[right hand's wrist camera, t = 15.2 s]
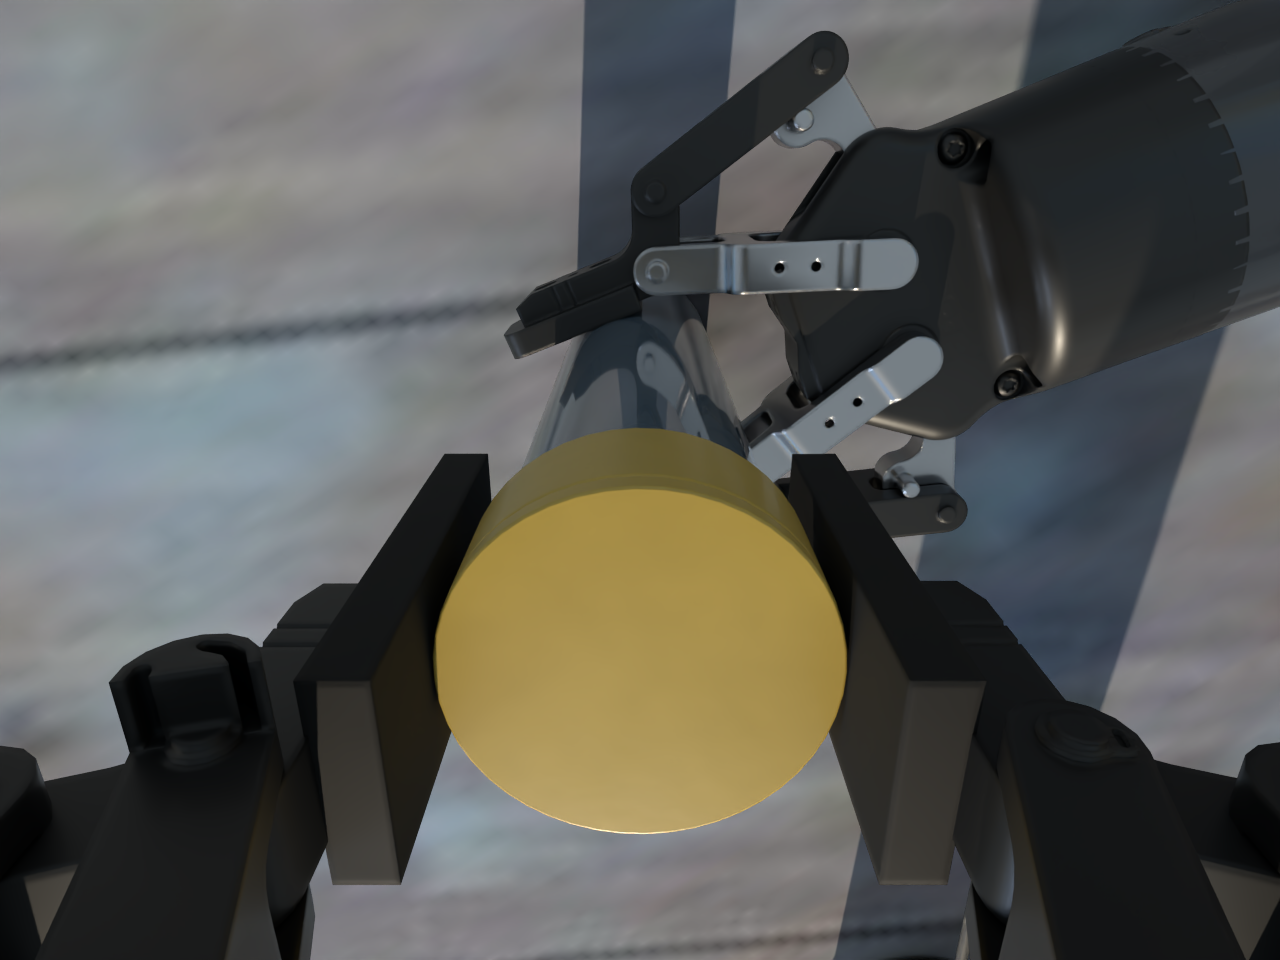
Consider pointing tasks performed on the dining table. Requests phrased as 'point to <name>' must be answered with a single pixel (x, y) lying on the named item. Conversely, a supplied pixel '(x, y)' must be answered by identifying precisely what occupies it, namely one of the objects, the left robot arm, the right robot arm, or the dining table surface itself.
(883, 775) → the right robot arm
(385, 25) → the dining table surface
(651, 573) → the lid
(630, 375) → the bottle
